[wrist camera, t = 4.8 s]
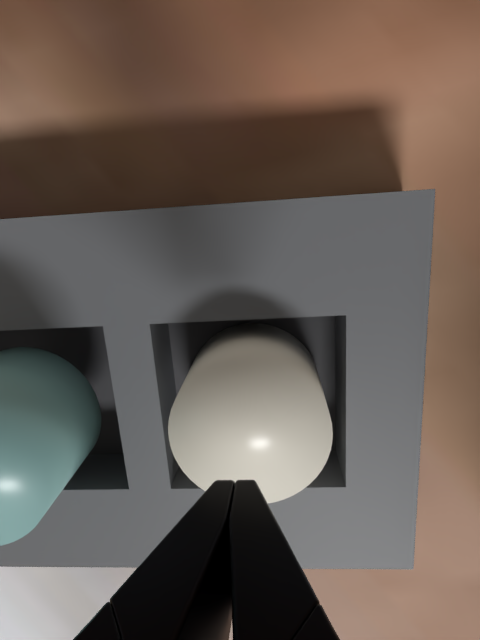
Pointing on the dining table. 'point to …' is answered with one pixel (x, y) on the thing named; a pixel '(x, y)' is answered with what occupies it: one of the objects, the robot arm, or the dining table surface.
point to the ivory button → (252, 413)
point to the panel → (202, 324)
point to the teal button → (40, 434)
